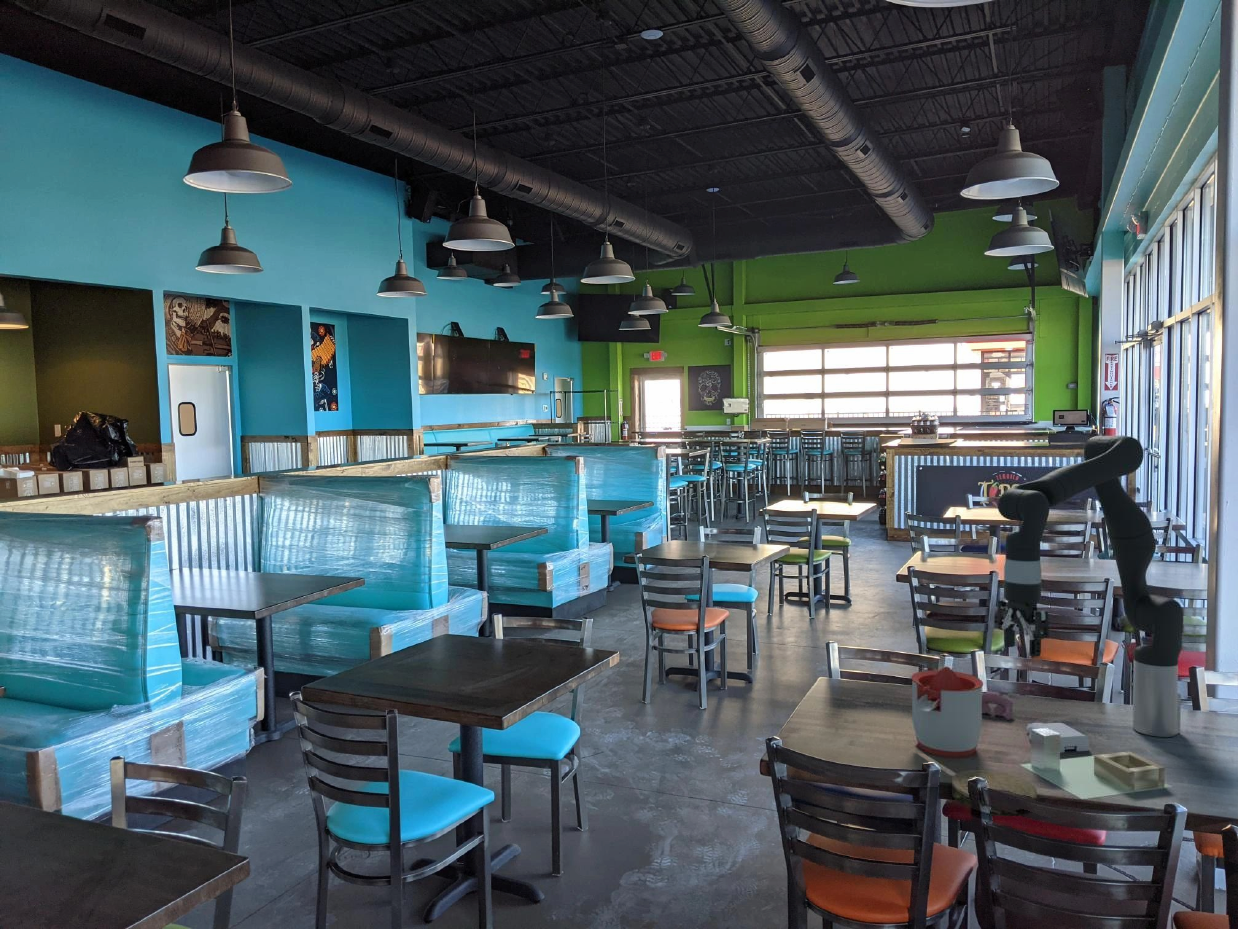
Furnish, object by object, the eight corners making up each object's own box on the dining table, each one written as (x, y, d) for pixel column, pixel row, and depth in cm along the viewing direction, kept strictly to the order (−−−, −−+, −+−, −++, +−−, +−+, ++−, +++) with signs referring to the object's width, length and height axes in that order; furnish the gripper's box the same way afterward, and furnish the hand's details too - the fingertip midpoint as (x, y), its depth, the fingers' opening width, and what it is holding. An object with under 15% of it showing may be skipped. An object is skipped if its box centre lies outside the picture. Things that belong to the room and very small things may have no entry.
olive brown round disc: (934, 792, 179) (934, 778, 179) (990, 778, 186) (990, 764, 186) (997, 824, 165) (997, 809, 165) (1055, 807, 171) (1055, 792, 171)
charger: (1048, 732, 212) (1089, 755, 197) (1013, 735, 211) (1051, 758, 196) (1048, 713, 212) (1089, 735, 197) (1013, 715, 210) (1052, 738, 196)
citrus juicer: (892, 751, 201) (892, 666, 200) (935, 734, 211) (935, 653, 210) (954, 772, 188) (954, 682, 187) (996, 753, 199) (996, 667, 198)
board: (1104, 758, 195) (1104, 754, 195) (1172, 791, 177) (1172, 786, 177) (1020, 769, 189) (1020, 764, 189) (1081, 804, 172) (1082, 799, 172)
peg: (1046, 763, 190) (1046, 727, 189) (1059, 770, 186) (1060, 734, 186) (1031, 765, 189) (1031, 729, 189) (1044, 772, 185) (1044, 736, 185)
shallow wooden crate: (1128, 769, 186) (1129, 751, 186) (1164, 786, 177) (1164, 767, 177) (1093, 774, 184) (1094, 755, 184) (1128, 791, 175) (1128, 772, 175)
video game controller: (1012, 723, 222) (1014, 696, 225) (1010, 720, 219) (1012, 692, 221) (972, 717, 228) (974, 690, 230) (969, 713, 224) (971, 686, 226)
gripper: (1059, 584, 185) (1058, 658, 186) (1016, 573, 199) (1015, 642, 200) (1029, 586, 184) (1028, 661, 185) (987, 574, 198) (986, 644, 199)
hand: (1021, 651), depth 192 cm, fingers open, 8 cm apart
